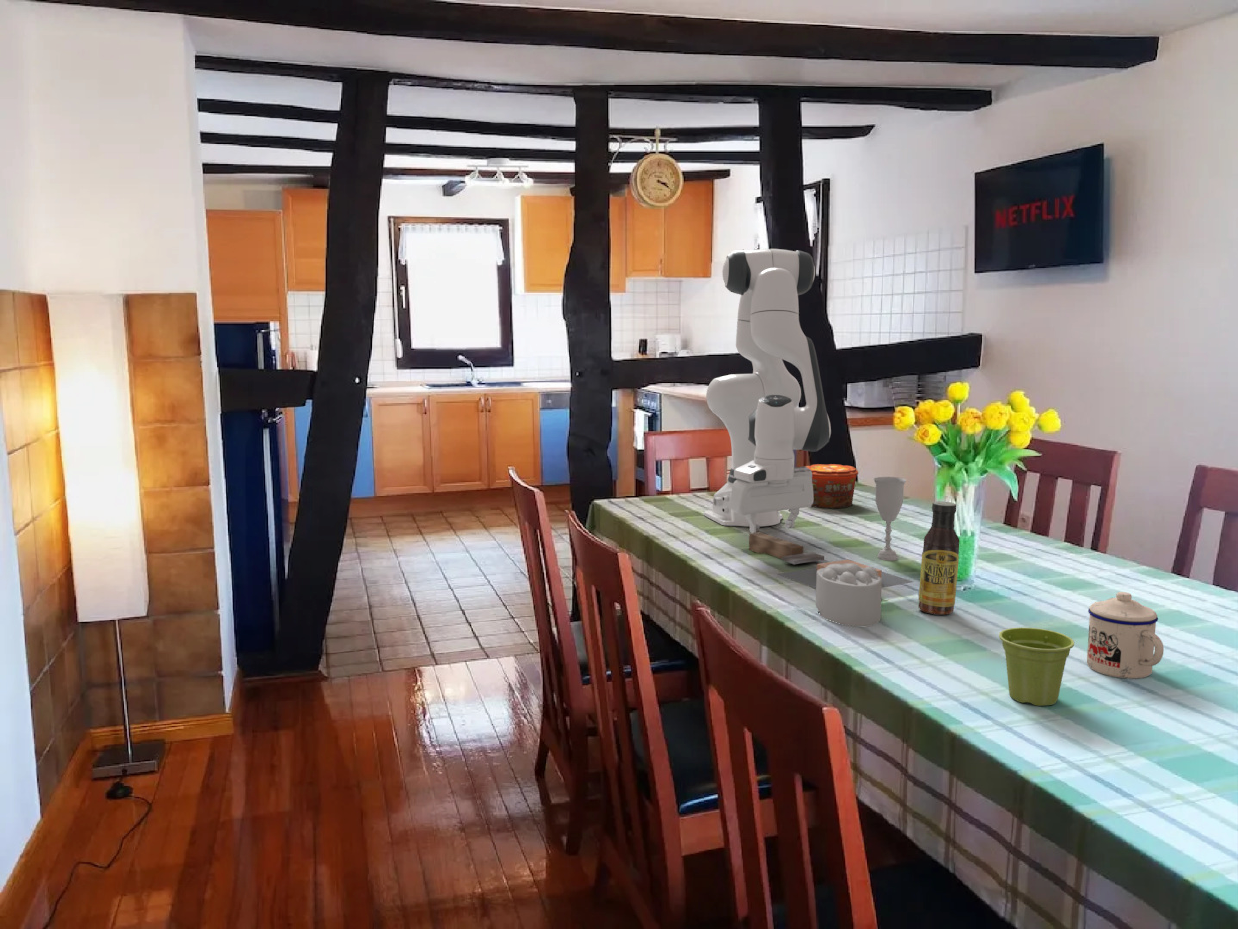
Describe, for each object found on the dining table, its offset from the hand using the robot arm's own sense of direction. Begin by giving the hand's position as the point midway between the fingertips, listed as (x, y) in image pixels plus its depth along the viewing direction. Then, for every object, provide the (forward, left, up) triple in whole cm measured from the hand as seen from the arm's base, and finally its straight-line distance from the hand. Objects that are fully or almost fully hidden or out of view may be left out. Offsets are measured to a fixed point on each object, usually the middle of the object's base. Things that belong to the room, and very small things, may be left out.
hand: (772, 530), depth 208 cm
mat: (+24, 0, -6) cm, 25 cm away
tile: (+20, 0, -4) cm, 21 cm away
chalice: (+16, +19, -6) cm, 26 cm away
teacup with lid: (+83, +3, -6) cm, 83 cm away
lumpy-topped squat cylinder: (+42, -14, -6) cm, 45 cm away
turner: (+3, 0, -6) cm, 7 cm away
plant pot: (+83, -17, -6) cm, 85 cm away
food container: (-41, +50, -6) cm, 65 cm away
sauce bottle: (+48, +1, -6) cm, 48 cm away
